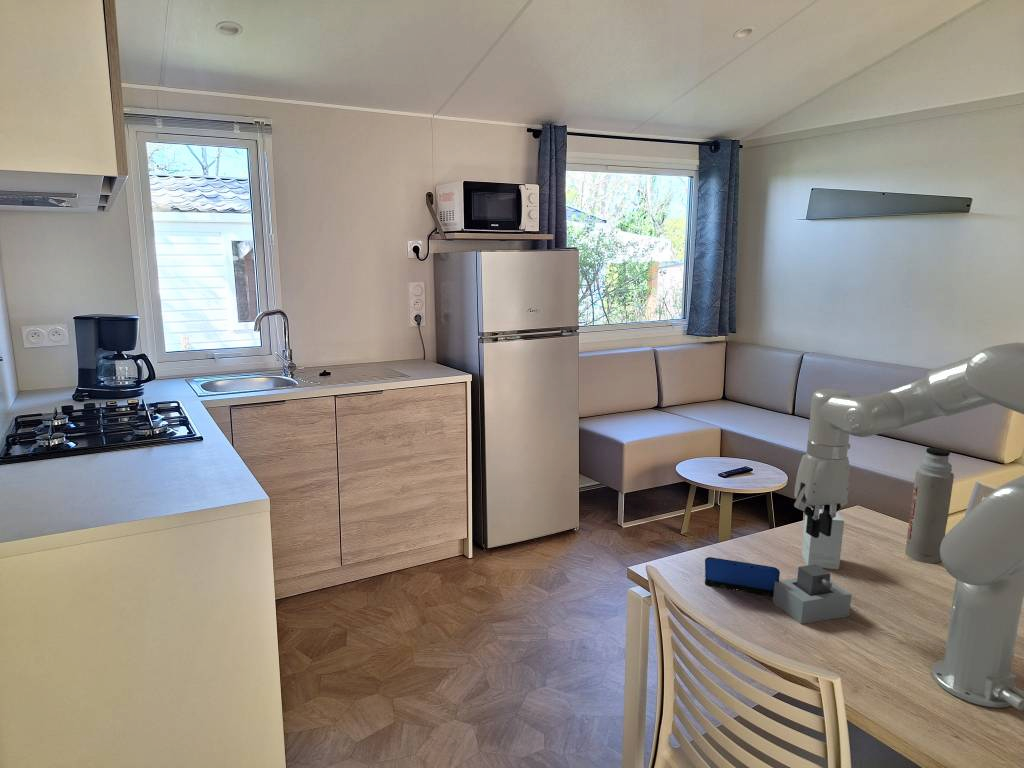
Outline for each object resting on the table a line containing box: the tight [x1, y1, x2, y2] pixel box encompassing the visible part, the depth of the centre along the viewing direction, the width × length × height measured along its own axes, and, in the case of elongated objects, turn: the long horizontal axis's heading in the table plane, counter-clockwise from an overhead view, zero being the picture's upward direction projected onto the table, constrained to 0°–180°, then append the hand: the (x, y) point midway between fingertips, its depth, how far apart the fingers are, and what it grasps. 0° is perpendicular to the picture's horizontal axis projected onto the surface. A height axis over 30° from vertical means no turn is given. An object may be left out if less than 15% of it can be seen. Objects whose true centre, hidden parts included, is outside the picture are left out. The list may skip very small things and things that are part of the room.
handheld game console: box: [704, 556, 781, 598], centre depth 153 cm, size 16×13×9 cm
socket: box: [772, 577, 853, 625], centre depth 144 cm, size 9×12×5 cm
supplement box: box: [800, 508, 845, 570], centre depth 165 cm, size 7×7×13 cm
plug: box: [796, 564, 832, 596], centre depth 142 cm, size 4×7×8 cm, turn 16°
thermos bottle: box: [904, 447, 955, 564], centre depth 168 cm, size 8×8×28 cm
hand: (818, 533), depth 141 cm, fingers closed
